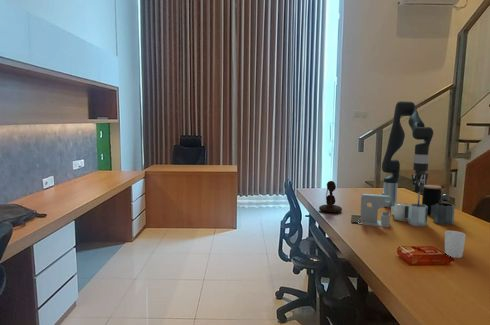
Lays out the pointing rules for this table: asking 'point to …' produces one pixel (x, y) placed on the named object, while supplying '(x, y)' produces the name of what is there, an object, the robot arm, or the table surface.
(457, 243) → the white cup
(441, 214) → the black press
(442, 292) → the table surface
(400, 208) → the mug
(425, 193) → the coffee jar
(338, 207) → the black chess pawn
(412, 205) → the steel press
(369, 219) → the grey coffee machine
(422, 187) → the plunger
